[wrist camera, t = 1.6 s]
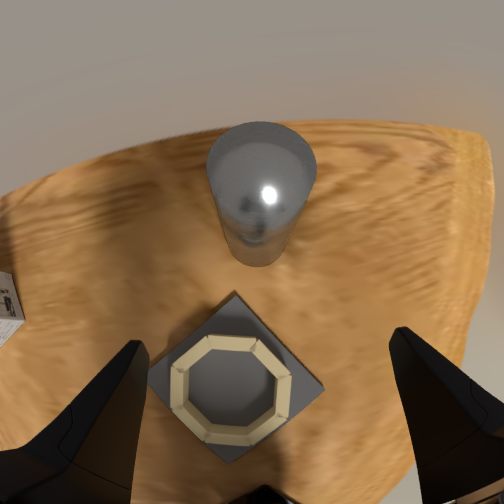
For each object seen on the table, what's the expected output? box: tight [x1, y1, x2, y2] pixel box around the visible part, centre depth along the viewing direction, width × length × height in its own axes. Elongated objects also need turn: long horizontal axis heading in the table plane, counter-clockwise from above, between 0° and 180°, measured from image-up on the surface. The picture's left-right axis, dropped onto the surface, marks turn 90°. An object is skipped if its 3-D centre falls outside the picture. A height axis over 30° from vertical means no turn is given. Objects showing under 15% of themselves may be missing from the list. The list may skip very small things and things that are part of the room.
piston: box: [206, 122, 317, 267], centre depth 18 cm, size 5×5×12 cm
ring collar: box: [147, 295, 325, 464], centre depth 19 cm, size 11×11×2 cm
